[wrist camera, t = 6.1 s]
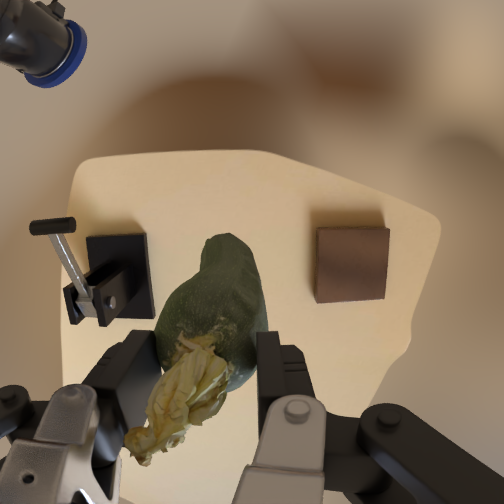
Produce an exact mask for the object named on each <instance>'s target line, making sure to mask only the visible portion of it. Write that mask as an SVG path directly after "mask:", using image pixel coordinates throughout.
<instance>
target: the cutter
mask: <svg viewBox="0 0 504 504" xmlns="http://www.w3.org/2000/svg"><path fill="white" fill-rule="evenodd" d="M86 244H87V252H88V259H89V267H90V271H89V272H87V273H86V274H84V275H83V276H84V278H85V280H86V281H87V283H88V285H89V286H95V287H94V288H93V289H92V292H93V298H94V303H95V308H96V313H97V318H98V323H99V326H100V327H107V326H108V325H109V324H110V323H111V322H112V320H113V319H114V318H131V319H154V318H155V316H156V315H155V308H154V300H153V293H152V285H151V276H150V267H149V257H148V247H147V236H146V233H138V234H118V235H98V236H88V237H86ZM63 292H64V297H65V302H66V307H67V311H68V316H69V320H70V324H73V325H77V324H79V323H80V322H81V321H82V320H83V319H84V318H85V316H84V315H83V313H82V312H81V310H80V308H79V307H78V305H77V304H76V299H77V297H78V294H79V293H78V291H77V289H76V287H75V286H74V284H73V282H72V283H70V284H69V285H67V286H66V287H64V288H63Z"/></svg>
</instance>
